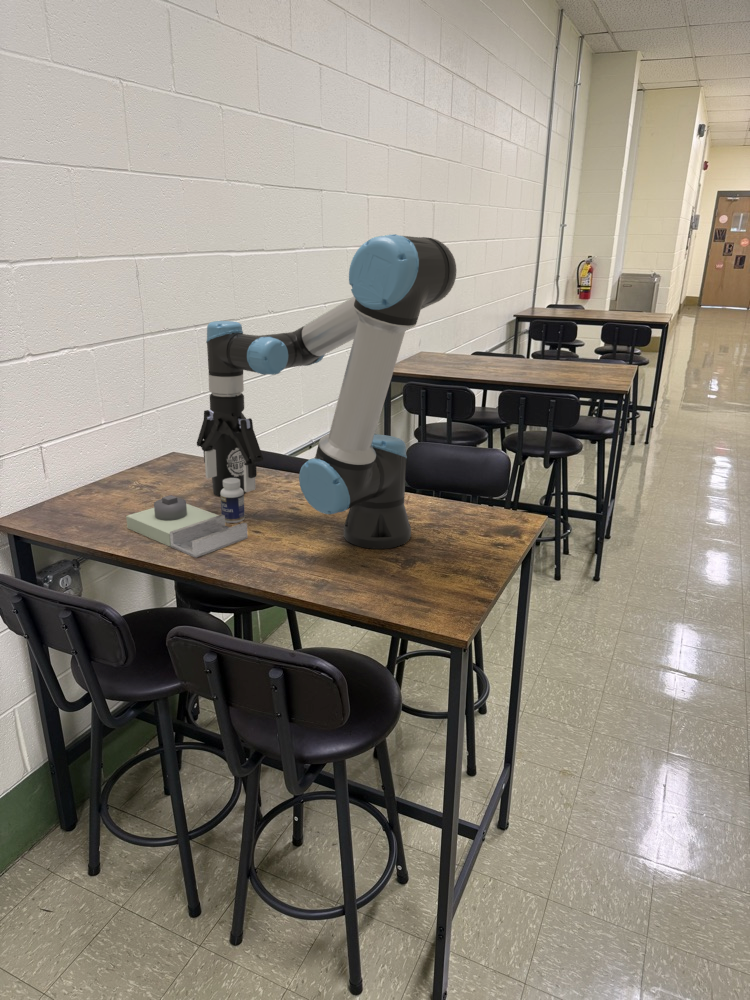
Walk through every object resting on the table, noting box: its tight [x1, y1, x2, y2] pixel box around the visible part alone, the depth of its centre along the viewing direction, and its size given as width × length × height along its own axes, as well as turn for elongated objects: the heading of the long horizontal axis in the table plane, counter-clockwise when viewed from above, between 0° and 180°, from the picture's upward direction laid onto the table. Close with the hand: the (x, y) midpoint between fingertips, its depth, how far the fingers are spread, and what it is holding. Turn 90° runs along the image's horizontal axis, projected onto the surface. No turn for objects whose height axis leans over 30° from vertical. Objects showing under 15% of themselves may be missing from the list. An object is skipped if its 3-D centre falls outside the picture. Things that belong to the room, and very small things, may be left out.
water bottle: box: [209, 408, 247, 498], centre depth 177 cm, size 10×10×23 cm
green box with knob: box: [125, 494, 220, 548], centre depth 155 cm, size 16×14×7 cm
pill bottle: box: [220, 478, 246, 524], centre depth 161 cm, size 5×5×10 cm
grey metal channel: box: [170, 514, 249, 559], centre depth 149 cm, size 8×14×4 cm, turn 142°
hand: (230, 483), depth 160 cm, fingers open, 13 cm apart
